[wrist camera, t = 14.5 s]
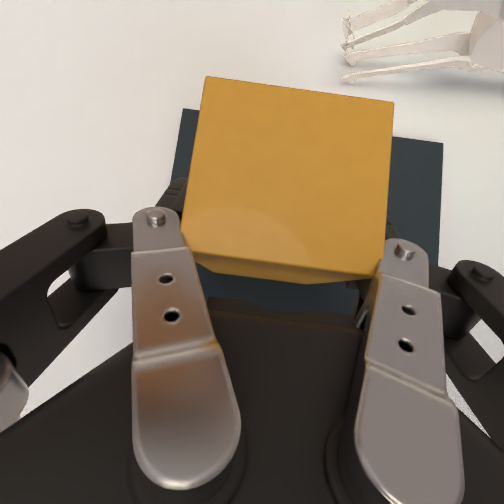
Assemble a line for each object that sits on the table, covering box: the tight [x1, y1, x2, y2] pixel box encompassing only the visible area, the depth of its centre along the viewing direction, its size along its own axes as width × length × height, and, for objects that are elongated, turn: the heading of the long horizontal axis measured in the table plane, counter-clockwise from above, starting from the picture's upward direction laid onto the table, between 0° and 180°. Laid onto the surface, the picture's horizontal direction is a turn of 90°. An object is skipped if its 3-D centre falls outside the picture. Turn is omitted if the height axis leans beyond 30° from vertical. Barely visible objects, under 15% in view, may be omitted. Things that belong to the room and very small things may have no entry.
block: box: [180, 76, 394, 285], centre depth 12 cm, size 5×5×9 cm
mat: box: [170, 108, 443, 315], centre depth 17 cm, size 16×14×1 cm
